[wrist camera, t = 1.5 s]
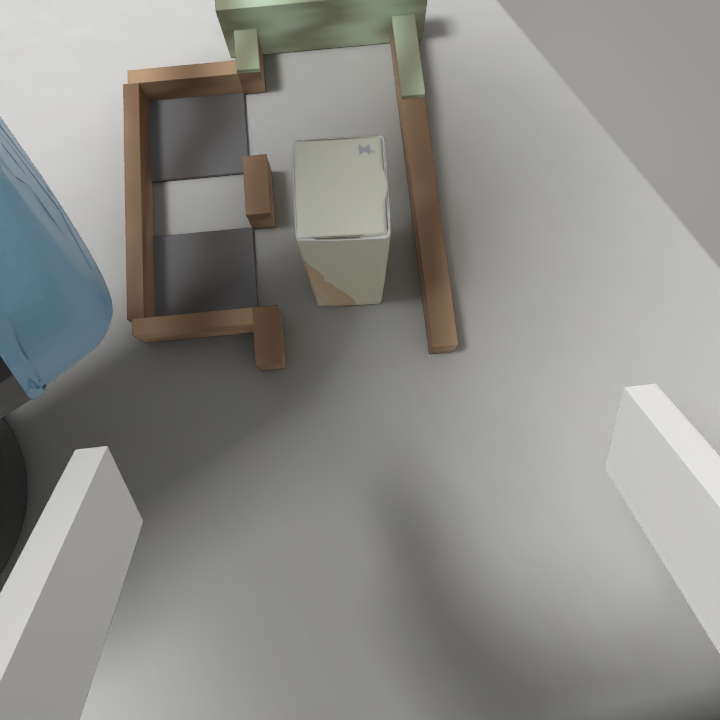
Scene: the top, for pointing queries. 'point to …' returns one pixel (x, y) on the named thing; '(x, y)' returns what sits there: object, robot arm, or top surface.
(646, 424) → the robot arm
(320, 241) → the box
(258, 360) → the brown green flat frame
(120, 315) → the top surface
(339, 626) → the top surface
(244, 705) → the top surface
